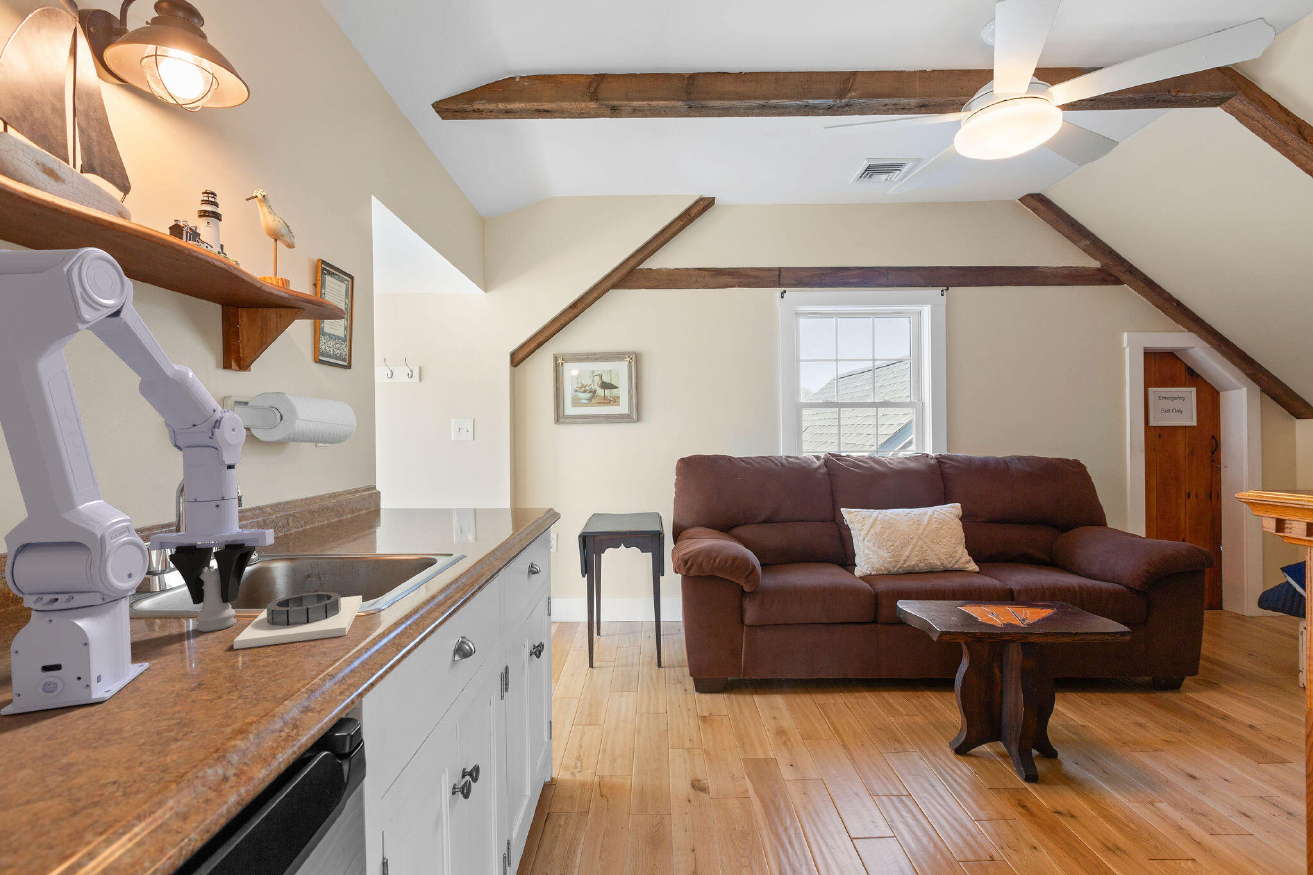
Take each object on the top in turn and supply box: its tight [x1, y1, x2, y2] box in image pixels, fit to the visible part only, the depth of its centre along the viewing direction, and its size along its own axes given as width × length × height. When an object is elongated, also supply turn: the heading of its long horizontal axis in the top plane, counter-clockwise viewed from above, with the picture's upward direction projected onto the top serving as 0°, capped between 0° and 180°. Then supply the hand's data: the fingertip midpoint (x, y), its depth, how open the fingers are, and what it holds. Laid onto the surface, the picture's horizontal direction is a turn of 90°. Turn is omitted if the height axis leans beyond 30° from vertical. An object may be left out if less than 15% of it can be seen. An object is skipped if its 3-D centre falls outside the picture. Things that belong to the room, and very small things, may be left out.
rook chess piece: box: [195, 565, 237, 633], centre depth 82 cm, size 4×4×8 cm
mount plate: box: [233, 595, 363, 650], centre depth 82 cm, size 16×12×1 cm
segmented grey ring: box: [265, 591, 342, 626], centre depth 82 cm, size 8×8×2 cm
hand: (215, 601), depth 82 cm, fingers closed on rook chess piece, 3 cm apart
